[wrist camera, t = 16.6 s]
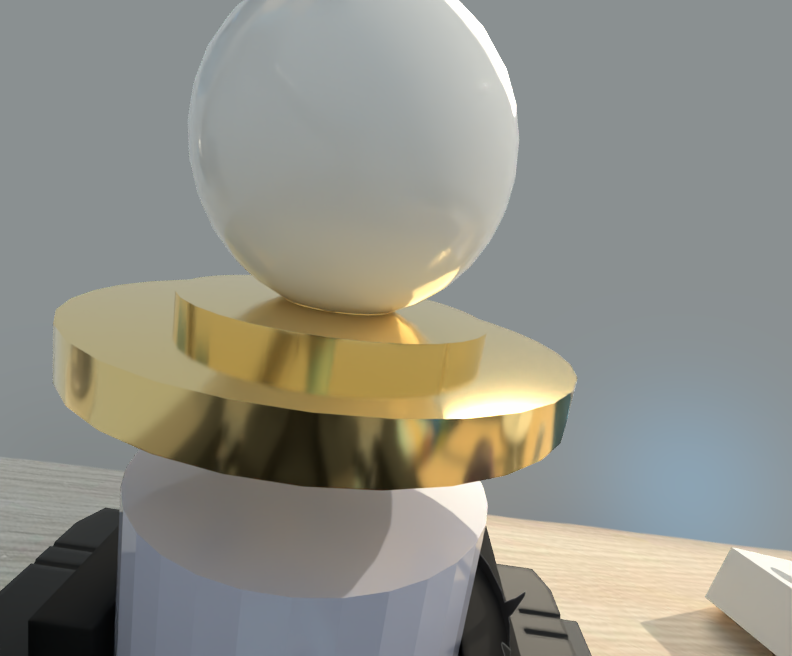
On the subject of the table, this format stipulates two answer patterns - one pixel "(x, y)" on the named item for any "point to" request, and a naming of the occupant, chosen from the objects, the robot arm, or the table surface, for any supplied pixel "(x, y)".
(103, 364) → the perfume bottle
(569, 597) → the table surface
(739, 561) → the bracket
